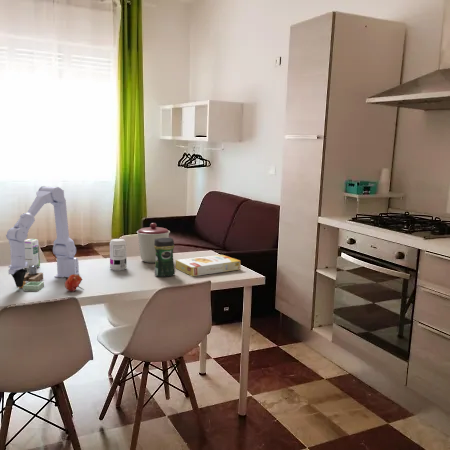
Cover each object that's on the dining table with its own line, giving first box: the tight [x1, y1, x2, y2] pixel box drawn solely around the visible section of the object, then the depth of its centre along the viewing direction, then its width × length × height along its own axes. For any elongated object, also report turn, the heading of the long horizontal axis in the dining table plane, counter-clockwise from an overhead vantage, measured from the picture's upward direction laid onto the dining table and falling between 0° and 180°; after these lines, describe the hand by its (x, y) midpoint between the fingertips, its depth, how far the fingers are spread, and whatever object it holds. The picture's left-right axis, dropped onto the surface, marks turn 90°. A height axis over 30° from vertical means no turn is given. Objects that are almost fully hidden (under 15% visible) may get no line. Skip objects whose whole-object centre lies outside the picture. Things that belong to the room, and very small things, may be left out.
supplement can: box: [109, 238, 128, 271], centre depth 242 cm, size 8×8×15 cm
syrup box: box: [25, 238, 41, 268], centre depth 241 cm, size 6×6×14 cm
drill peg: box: [28, 265, 38, 276], centre depth 218 cm, size 3×3×7 cm
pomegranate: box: [63, 274, 85, 293], centre depth 204 cm, size 7×7×10 cm
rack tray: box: [22, 281, 45, 292], centre depth 206 cm, size 6×6×2 cm
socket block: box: [24, 272, 44, 282], centre depth 216 cm, size 7×11×3 cm, turn 0°
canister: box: [136, 222, 171, 264], centre depth 260 cm, size 18×18×21 cm
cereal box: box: [174, 254, 242, 277], centre depth 245 cm, size 20×6×28 cm
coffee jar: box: [153, 237, 176, 278], centre depth 231 cm, size 10×8×19 cm
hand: (19, 286), depth 204 cm, fingers closed
